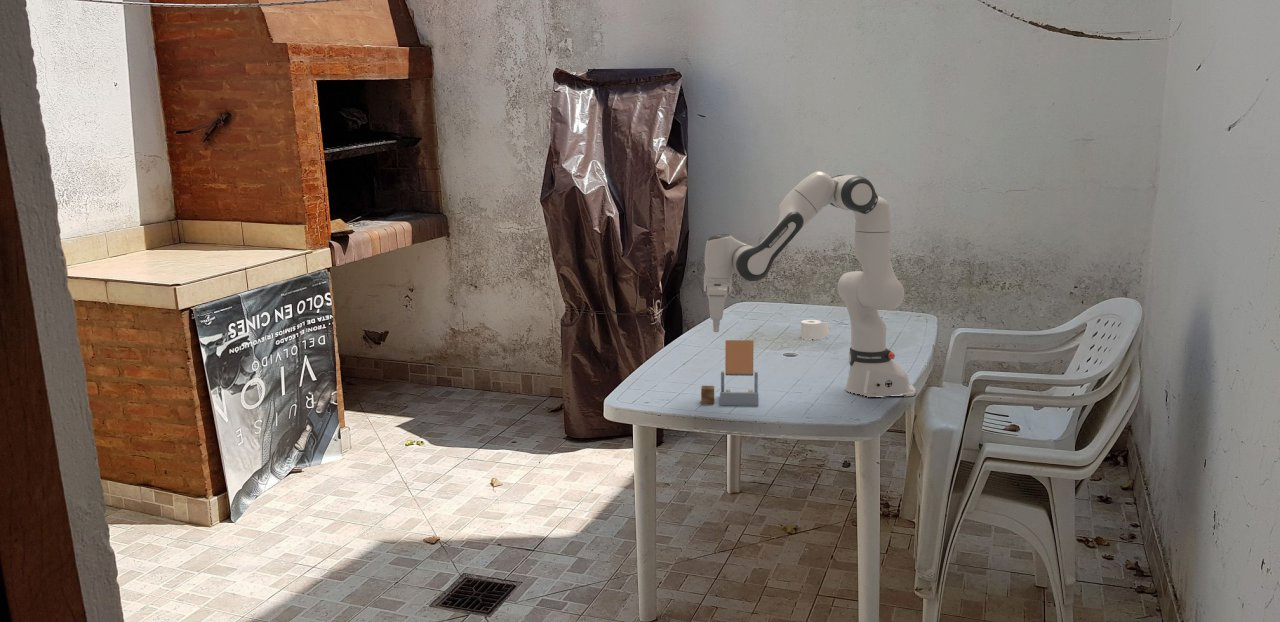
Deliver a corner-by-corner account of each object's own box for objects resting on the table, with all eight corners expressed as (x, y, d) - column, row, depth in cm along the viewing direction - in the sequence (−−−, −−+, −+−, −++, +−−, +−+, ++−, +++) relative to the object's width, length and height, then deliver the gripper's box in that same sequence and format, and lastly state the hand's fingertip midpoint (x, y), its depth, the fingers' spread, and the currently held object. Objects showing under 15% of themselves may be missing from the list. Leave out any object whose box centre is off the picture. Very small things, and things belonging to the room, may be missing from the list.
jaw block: (714, 400, 315) (714, 385, 314) (713, 404, 311) (713, 389, 310) (701, 400, 315) (701, 385, 314) (701, 404, 311) (701, 389, 310)
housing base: (757, 396, 319) (757, 371, 318) (758, 405, 309) (758, 380, 307) (720, 395, 320) (720, 371, 319) (720, 405, 310) (720, 380, 308)
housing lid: (753, 375, 317) (753, 375, 317) (753, 340, 316) (753, 340, 317) (725, 375, 318) (725, 375, 318) (725, 340, 317) (725, 340, 318)
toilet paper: (829, 337, 402) (830, 320, 400) (813, 341, 394) (813, 324, 393) (813, 334, 408) (813, 317, 406) (796, 338, 400) (797, 321, 399)
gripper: (708, 280, 319) (707, 322, 321) (706, 290, 299) (705, 334, 301) (728, 281, 318) (726, 323, 321) (727, 291, 298) (726, 335, 300)
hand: (716, 328), depth 311 cm, fingers open, 8 cm apart
